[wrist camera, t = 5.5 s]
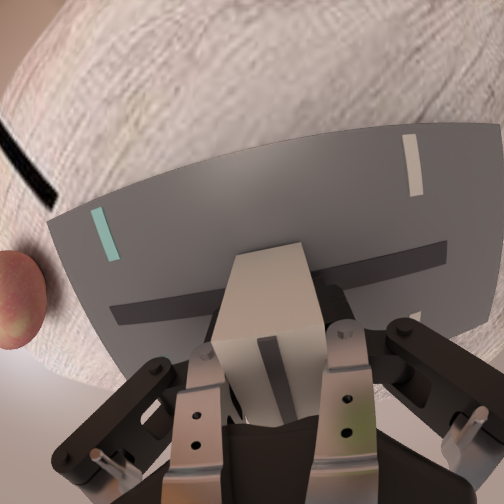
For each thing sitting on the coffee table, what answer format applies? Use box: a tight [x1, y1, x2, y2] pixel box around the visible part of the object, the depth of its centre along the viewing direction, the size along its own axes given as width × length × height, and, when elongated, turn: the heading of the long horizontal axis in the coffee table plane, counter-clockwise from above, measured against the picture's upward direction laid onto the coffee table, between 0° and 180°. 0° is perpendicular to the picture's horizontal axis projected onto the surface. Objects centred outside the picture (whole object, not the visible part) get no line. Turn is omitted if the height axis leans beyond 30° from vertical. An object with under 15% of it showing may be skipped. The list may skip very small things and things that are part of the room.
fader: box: [211, 242, 328, 427], centre depth 10 cm, size 3×5×6 cm, turn 14°
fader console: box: [47, 123, 504, 380], centre depth 15 cm, size 28×14×3 cm, turn 104°
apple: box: [0, 250, 47, 350], centre depth 15 cm, size 8×8×8 cm
